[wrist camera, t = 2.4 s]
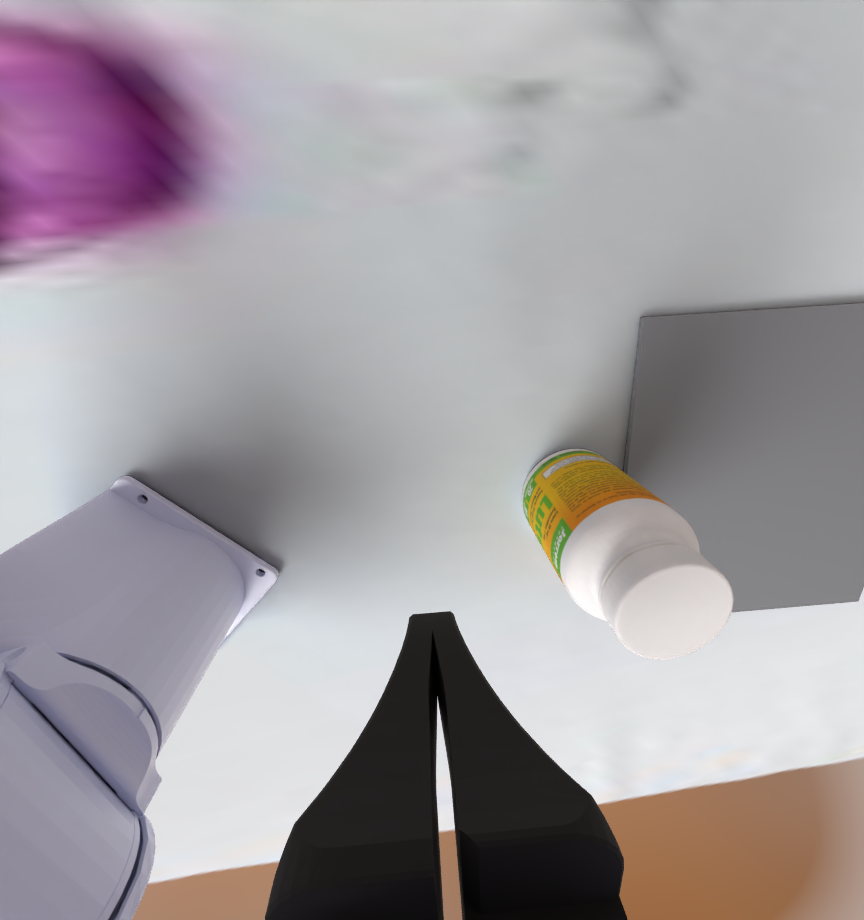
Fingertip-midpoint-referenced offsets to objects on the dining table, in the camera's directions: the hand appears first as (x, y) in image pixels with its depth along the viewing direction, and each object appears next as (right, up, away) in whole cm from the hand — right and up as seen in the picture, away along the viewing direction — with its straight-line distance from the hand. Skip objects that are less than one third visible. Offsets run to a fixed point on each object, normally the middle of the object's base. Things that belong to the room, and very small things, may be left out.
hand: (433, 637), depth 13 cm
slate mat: (+18, +5, +10) cm, 21 cm away
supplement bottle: (+7, +4, +10) cm, 13 cm away
